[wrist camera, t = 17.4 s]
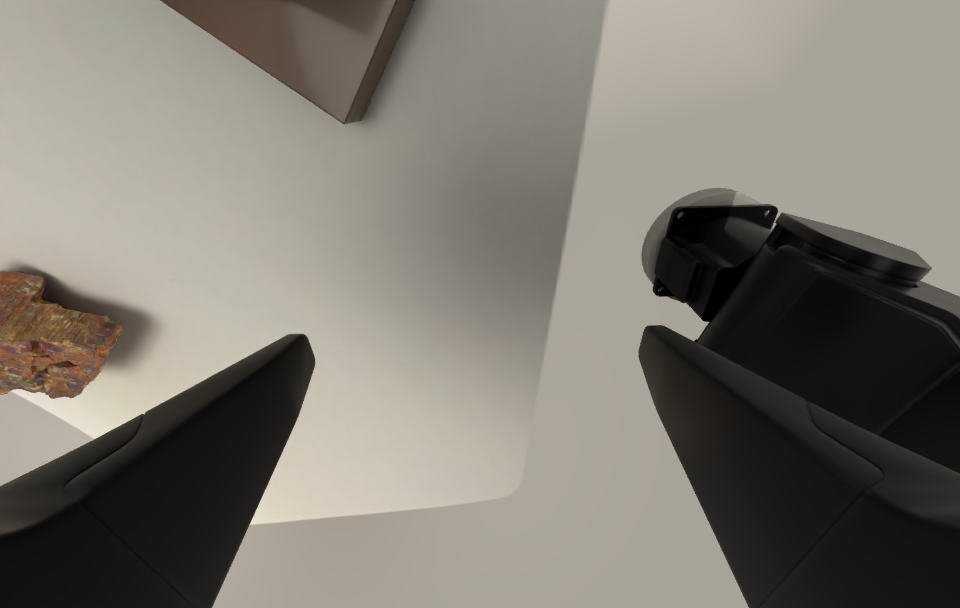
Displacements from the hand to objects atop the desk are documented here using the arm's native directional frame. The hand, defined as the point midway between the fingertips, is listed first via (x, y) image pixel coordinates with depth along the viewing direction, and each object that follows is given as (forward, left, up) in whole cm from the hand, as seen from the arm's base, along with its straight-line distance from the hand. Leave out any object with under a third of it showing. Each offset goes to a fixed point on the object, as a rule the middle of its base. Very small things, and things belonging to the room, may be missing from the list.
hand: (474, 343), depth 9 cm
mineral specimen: (+30, +7, -13) cm, 34 cm away
